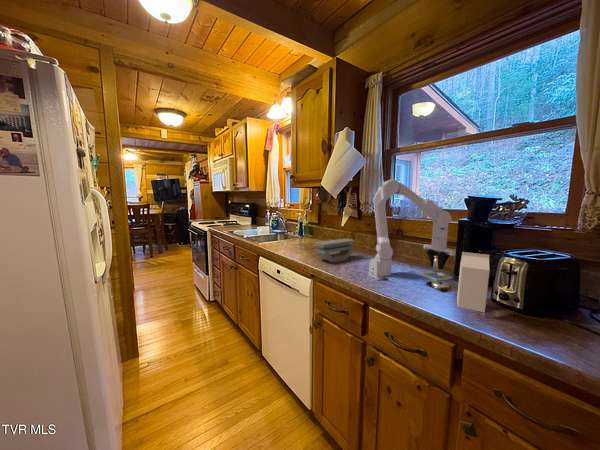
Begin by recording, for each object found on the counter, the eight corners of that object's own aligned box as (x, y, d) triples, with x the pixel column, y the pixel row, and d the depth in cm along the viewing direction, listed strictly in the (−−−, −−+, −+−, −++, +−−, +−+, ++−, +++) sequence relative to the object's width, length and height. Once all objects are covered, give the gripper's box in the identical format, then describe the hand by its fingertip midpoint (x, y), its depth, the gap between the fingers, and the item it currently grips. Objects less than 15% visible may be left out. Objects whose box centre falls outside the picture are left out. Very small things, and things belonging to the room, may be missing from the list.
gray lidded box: (322, 264, 129) (323, 244, 128) (313, 261, 136) (314, 242, 134) (354, 258, 143) (355, 240, 142) (345, 255, 150) (345, 238, 149)
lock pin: (437, 273, 104) (438, 256, 103) (430, 270, 107) (431, 255, 107) (443, 272, 105) (444, 256, 104) (436, 270, 109) (437, 254, 108)
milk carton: (484, 316, 74) (491, 257, 72) (457, 310, 78) (462, 254, 76) (481, 308, 80) (487, 252, 78) (456, 302, 84) (461, 250, 82)
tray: (435, 284, 102) (436, 278, 101) (420, 278, 109) (420, 272, 109) (451, 282, 104) (452, 276, 104) (435, 276, 112) (436, 271, 112)
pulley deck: (443, 296, 89) (443, 287, 89) (423, 287, 98) (424, 279, 97) (468, 292, 93) (469, 283, 93) (447, 284, 102) (448, 276, 101)
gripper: (461, 240, 99) (458, 271, 101) (432, 234, 113) (430, 262, 114) (449, 240, 97) (446, 273, 98) (420, 235, 110) (418, 263, 112)
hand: (436, 267), depth 106 cm, fingers closed on lock pin, 3 cm apart
